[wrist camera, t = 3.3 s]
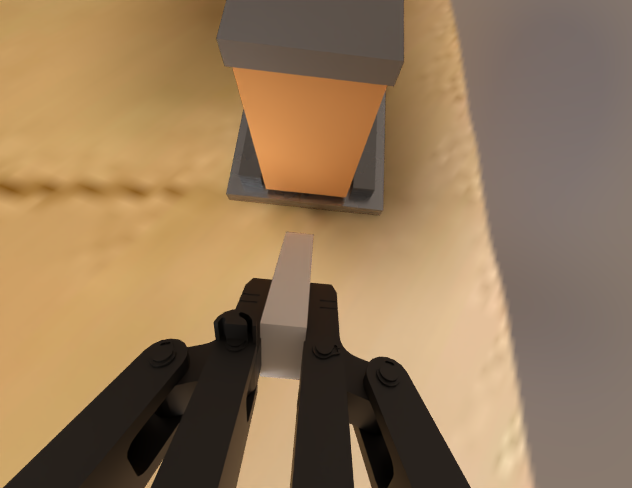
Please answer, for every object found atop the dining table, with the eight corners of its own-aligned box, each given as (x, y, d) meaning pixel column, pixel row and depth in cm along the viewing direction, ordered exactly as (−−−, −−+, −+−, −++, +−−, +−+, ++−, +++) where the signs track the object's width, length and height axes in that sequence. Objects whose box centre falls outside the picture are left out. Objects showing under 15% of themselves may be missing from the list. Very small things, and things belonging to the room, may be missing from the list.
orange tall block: (348, 200, 19) (404, 61, 9) (262, 191, 19) (216, 38, 9) (352, 139, 21) (403, -42, 10) (272, 130, 21) (243, -63, 10)
